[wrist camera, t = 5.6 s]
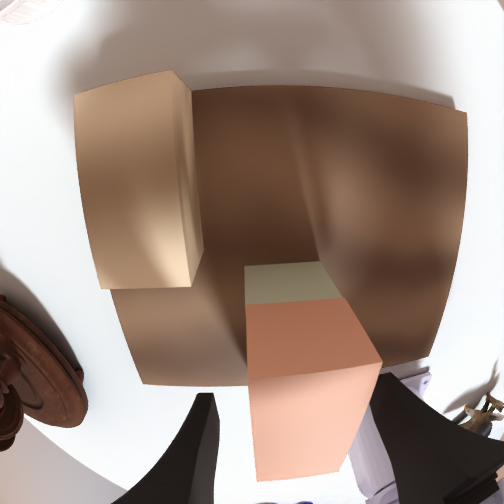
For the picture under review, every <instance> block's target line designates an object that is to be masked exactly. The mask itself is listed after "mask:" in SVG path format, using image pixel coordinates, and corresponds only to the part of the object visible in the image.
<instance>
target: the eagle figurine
mask: <svg viewBox="0 0 504 504" xmlns="http://www.w3.org/2000/svg"><path fill="white" fill-rule="evenodd" d="M486 396H487V397H486V402H485V405H484V406H483V408H482V409H481V410H474V409H470V408H468V407H467V406H465V411H466V413H467V414H468V415H469V416H471V417H472V418H471V419H470V420H469V421H467V422H466V423H463V424H460V425H459V426H461V427H463V428H465V429H467V430H469V431H472V432H474V433H477V434H479V435H482V436H485V437H488V436H489V435H490V432H491V429H492V423H491V421H495V420H497V421H501V420H502V419H503V418H504V416H503V415H501V414H499V413H498V414H495V413H493V411H494V409H495V407H496V409H497V410H498V411H499V412H502V409H503V408H504V406H502V405H504V403H503V402H501V401H499V400H496V399H495V398H493V397H492V396H491V395H490V393H489V392H488V393H487V394H486ZM489 403H492V406H491V407H490V409H489V410H488V411H487V409H488V406H489Z"/></svg>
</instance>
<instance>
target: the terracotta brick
mask: <svg viewBox="0 0 504 504" xmlns="http://www.w3.org/2000/svg"><path fill="white" fill-rule="evenodd" d="M246 335H247V374H248V389H249V401H250V412H251V423H252V435H253V445H254V456H255V466H256V477H257V481H273V480H284V479H293V478H301V477H309V476H315V475H321V474H327V473H332V472H337V471H339V469H340V467H341V465H342V463H343V461H344V459H345V457H346V455H347V453H348V451H349V449H350V447H351V445H352V442H353V440H354V438H355V436H356V433H357V431H358V429H359V426H360V424H361V422H362V419H363V417H364V414H365V412H366V409H367V406H368V404H369V401H370V399H371V396H372V393H373V390H374V387H375V385H376V382H377V379H378V376H379V373H380V369H381V366H382V363H383V361H382V359H381V358H380V356H379V354H378V352H377V351H376V349H375V347H374V345H373V344H372V342H371V340H370V339H369V337H368V335H367V333H366V332H365V330H364V328H363V327H362V325H361V323H360V322H359V320H358V318H357V317H356V315H355V313H354V312H353V310H352V309H351V307H350V305H349V304H348V302H347V300H346V299H345V297H342V298H331V299H320V300H308V301H296V302H281V303H266V304H248V305H246Z"/></svg>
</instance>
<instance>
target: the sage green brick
mask: <svg viewBox="0 0 504 504" xmlns="http://www.w3.org/2000/svg"><path fill="white" fill-rule="evenodd" d="M244 272H245V312H246V305H248V304H266V303H281V302H296V301H308V300H320V299H331V298H342V295H341V294H340V292H339V291H338V289H337V287H336V286H335V284H334V282H333V281H332V279H331V278H330V276H329V274H328V273H327V271H326V270H325V268H324V267H323V265H322V263H321V262H320V261H316V262H301V263H286V264H270V265H253V266H244Z"/></svg>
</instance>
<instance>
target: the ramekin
mask: <svg viewBox="0 0 504 504" xmlns="http://www.w3.org/2000/svg"><path fill="white" fill-rule="evenodd" d="M63 1H64V0H0V21H3V22H8V23H13V24H28V23H31V22H34V21H36V20H38V19H40V18H41V17H43V16H45V15H46V14H48V13H49V12H50V11H52V10H53V9H55V8H56V7H57V6H58V5H59V4H61V3H62V2H63Z"/></svg>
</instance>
